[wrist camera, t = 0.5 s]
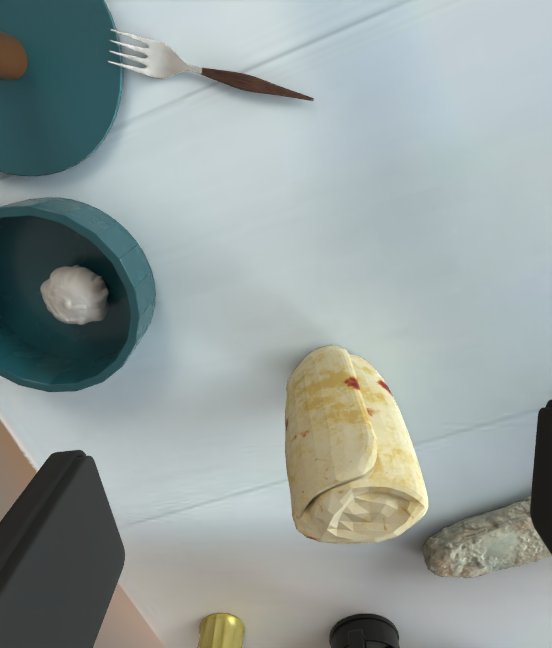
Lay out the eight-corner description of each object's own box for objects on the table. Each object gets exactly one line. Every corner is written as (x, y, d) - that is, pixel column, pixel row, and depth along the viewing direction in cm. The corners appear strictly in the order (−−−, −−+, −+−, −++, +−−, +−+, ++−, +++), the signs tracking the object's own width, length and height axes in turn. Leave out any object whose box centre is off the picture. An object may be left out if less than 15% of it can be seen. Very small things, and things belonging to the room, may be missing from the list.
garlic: (127, 278, 43) (107, 296, 38) (106, 324, 45) (85, 347, 40) (66, 247, 42) (37, 262, 37) (47, 296, 44) (18, 316, 39)
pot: (-44, 202, 41) (-91, 211, 36) (140, 192, 40) (119, 200, 35) (7, 367, 47) (-26, 395, 42) (167, 360, 47) (152, 388, 41)
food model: (291, 405, 48) (296, 572, 30) (277, 349, 46) (273, 495, 27) (383, 387, 47) (447, 550, 29) (374, 330, 45) (437, 467, 26)
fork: (309, 117, 38) (310, 116, 36) (116, 68, 37) (107, 64, 35) (317, 82, 37) (319, 80, 35) (119, 31, 36) (110, 25, 34)
